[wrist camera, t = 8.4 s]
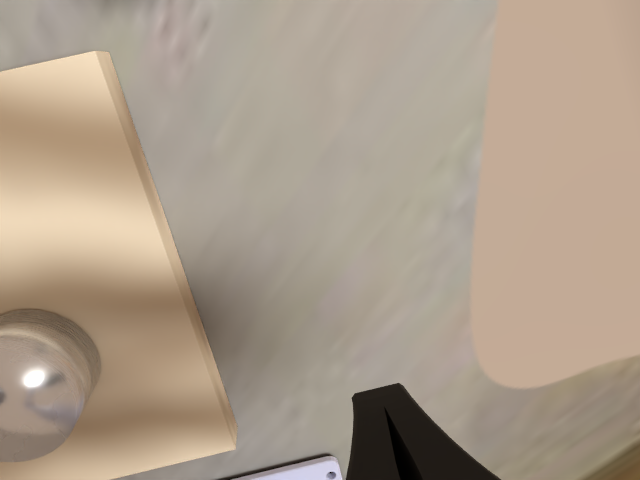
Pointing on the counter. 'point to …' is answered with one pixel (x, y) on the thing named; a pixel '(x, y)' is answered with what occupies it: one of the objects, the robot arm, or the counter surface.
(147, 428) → the cutting board
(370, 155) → the counter surface
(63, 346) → the grey bar with knob
